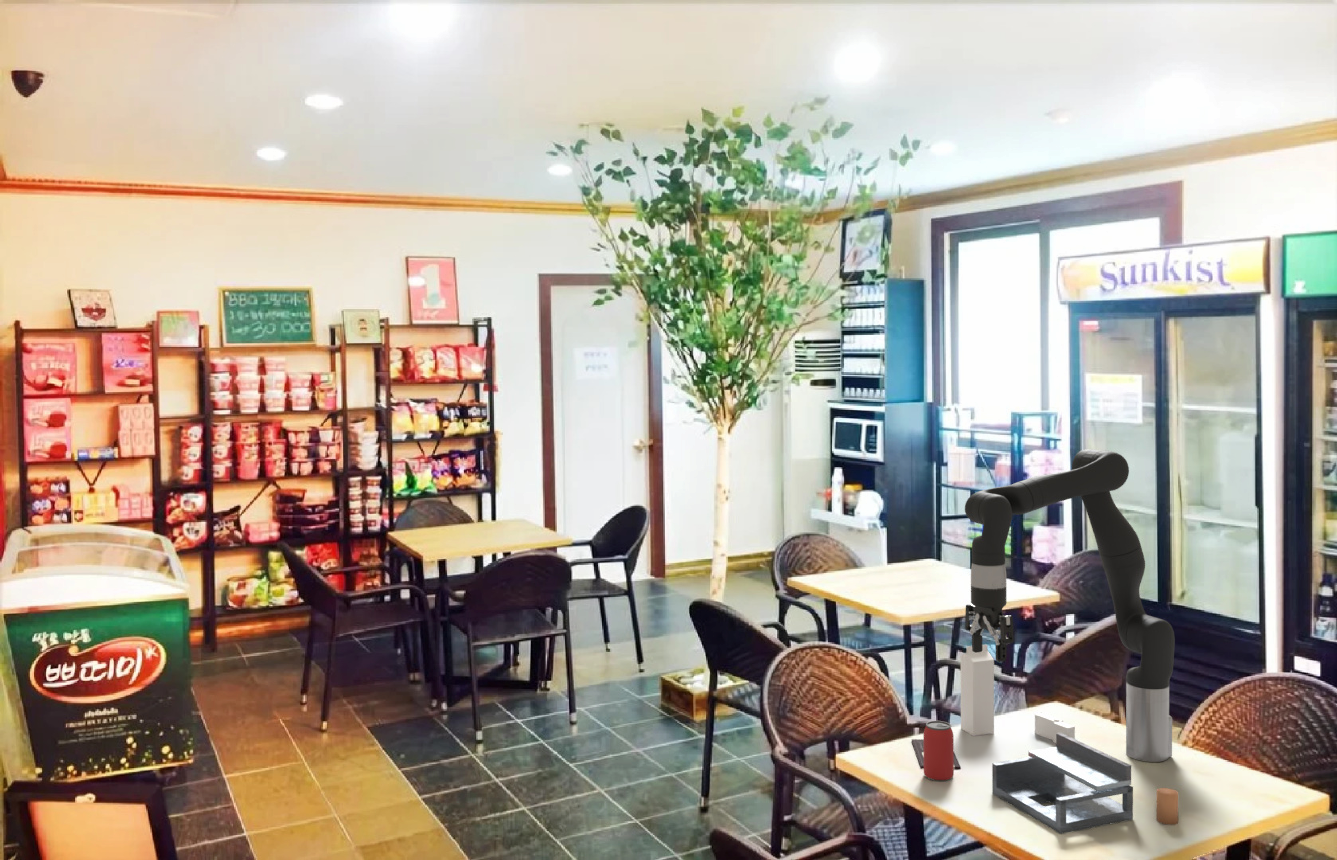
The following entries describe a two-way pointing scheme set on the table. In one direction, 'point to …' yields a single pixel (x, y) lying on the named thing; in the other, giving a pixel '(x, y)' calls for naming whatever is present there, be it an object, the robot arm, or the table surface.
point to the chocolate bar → (919, 751)
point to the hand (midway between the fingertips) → (988, 656)
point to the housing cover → (1084, 764)
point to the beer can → (938, 751)
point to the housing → (1058, 796)
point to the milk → (977, 692)
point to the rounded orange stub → (1167, 806)
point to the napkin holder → (1052, 727)
